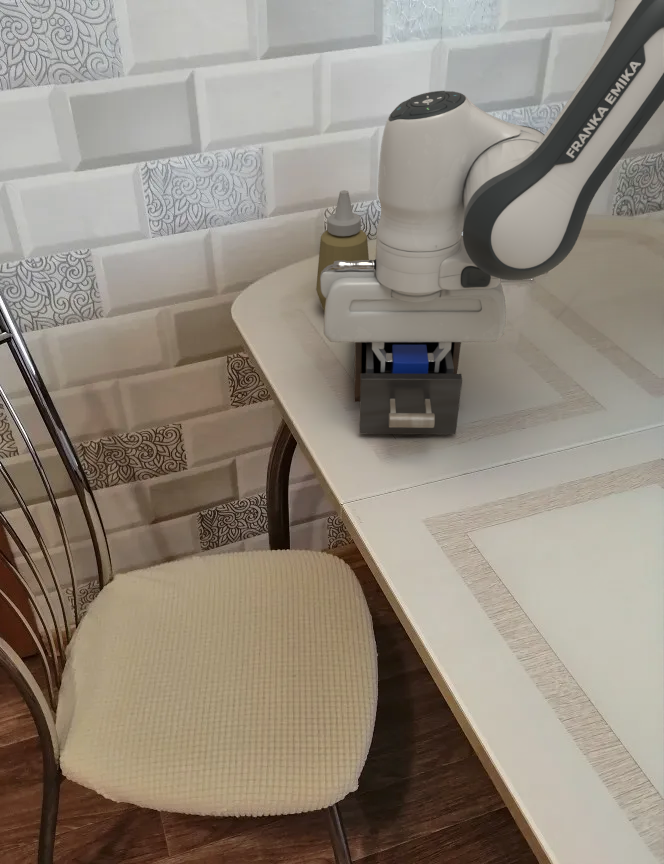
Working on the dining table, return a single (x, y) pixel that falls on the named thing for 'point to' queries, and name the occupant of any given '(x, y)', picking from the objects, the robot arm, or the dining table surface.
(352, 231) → the squeeze bottle
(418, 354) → the block
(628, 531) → the dining table surface
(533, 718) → the dining table surface
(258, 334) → the dining table surface
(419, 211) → the robot arm
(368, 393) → the dark grey drawer
